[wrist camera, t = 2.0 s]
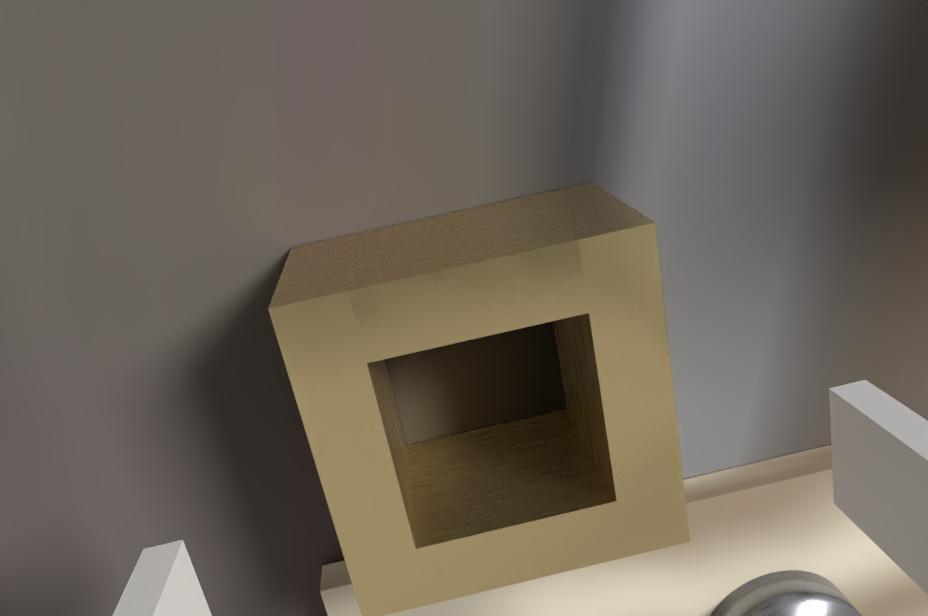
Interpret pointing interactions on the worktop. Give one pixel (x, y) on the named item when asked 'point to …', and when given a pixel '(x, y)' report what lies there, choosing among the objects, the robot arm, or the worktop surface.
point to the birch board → (705, 555)
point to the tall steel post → (786, 597)
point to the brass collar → (499, 446)
